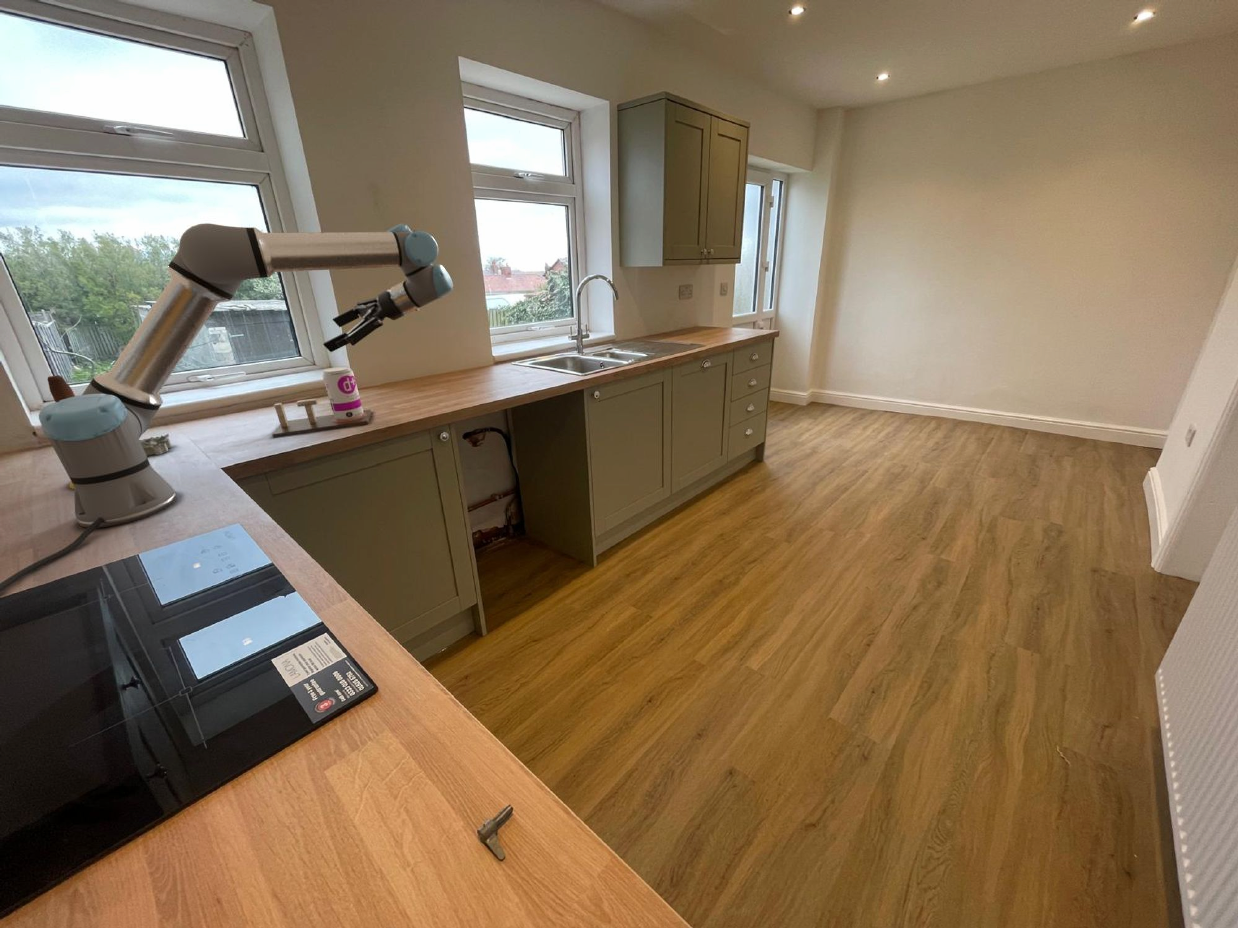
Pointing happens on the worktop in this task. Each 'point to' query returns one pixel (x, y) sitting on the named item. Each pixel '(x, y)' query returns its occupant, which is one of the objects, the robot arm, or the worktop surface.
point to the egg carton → (156, 445)
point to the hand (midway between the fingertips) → (331, 335)
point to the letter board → (317, 426)
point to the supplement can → (343, 393)
